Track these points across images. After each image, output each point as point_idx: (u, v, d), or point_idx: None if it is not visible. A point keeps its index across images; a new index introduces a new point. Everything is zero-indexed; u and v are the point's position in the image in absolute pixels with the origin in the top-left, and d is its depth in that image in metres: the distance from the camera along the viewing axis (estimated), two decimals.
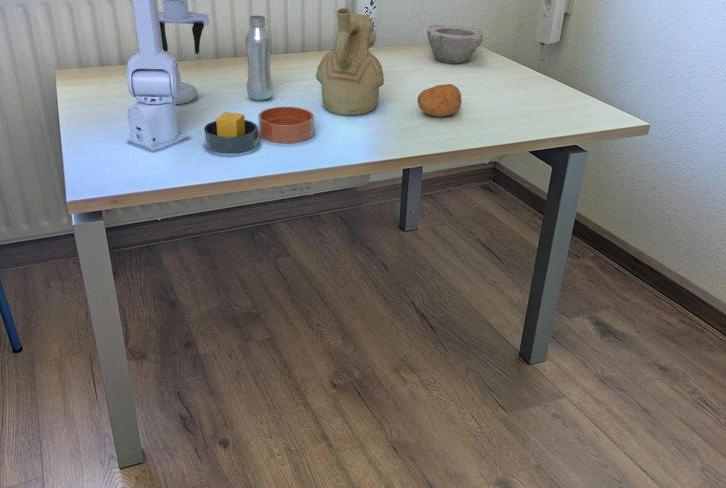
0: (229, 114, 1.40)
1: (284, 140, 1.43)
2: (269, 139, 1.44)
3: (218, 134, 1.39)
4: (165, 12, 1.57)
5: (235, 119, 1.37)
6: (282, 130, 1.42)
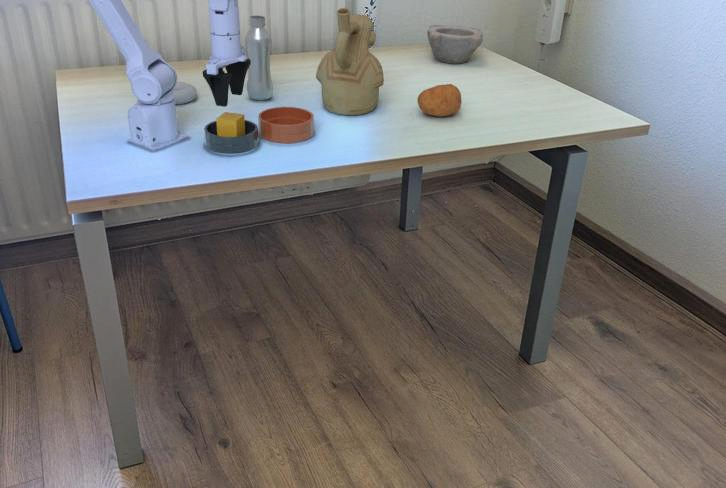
0: (229, 114, 1.40)
1: (284, 140, 1.43)
2: (269, 139, 1.44)
3: (218, 134, 1.39)
4: None
5: (235, 119, 1.37)
6: (282, 130, 1.42)
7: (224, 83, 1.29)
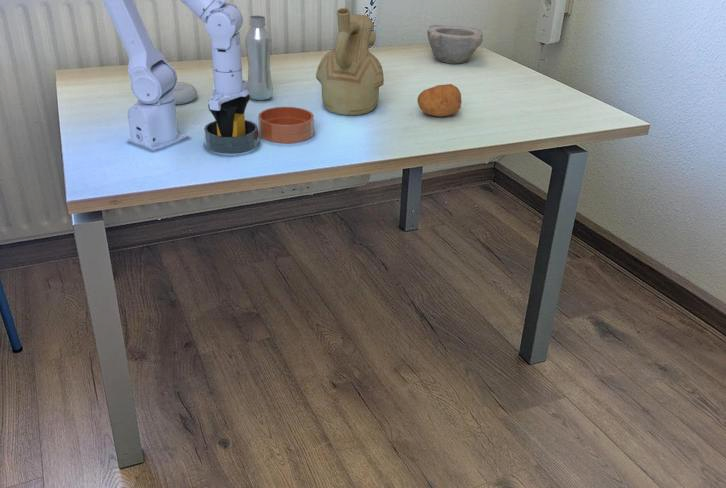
0: None
1: (284, 140, 1.43)
2: (269, 139, 1.44)
3: (218, 134, 1.39)
4: None
5: (235, 119, 1.37)
6: (282, 130, 1.42)
7: (229, 116, 1.34)
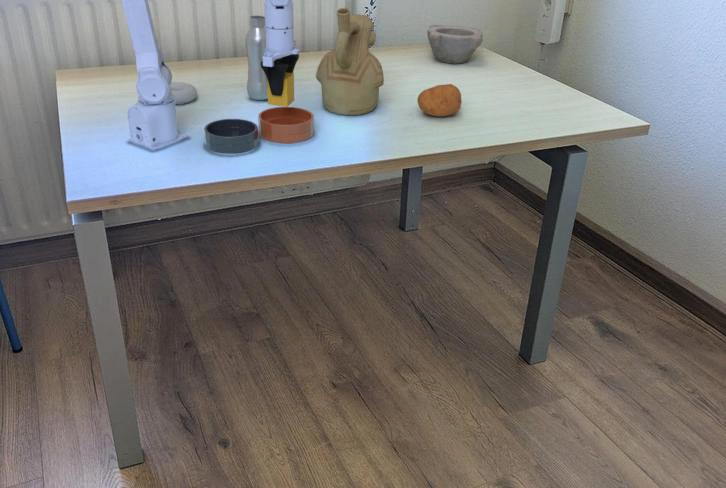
0: None
1: (284, 140, 1.43)
2: (269, 139, 1.44)
3: (268, 92, 1.41)
4: None
5: (286, 77, 1.39)
6: (282, 130, 1.42)
7: (281, 73, 1.36)
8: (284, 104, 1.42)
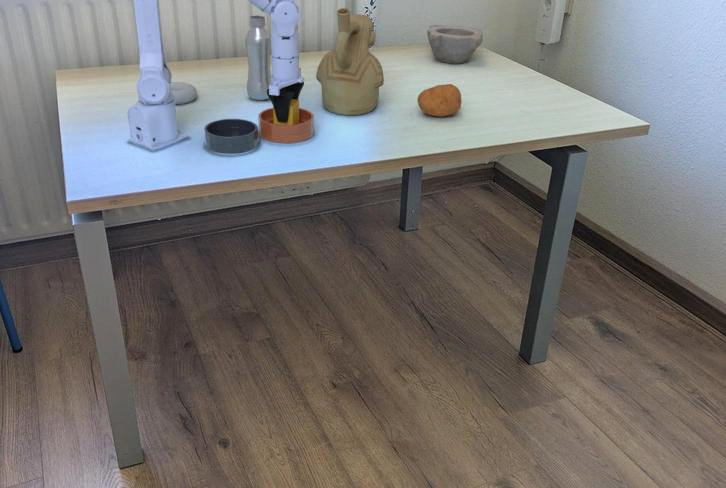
0: None
1: (284, 140, 1.43)
2: (269, 139, 1.44)
3: (274, 119, 1.45)
4: None
5: (291, 104, 1.43)
6: (282, 130, 1.42)
7: (287, 101, 1.40)
8: None
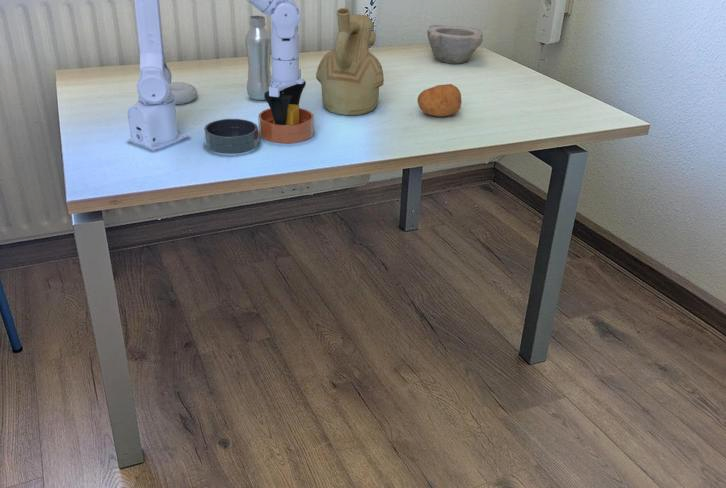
0: None
1: (284, 140, 1.43)
2: (269, 139, 1.44)
3: None
4: None
5: (291, 110, 1.44)
6: (282, 130, 1.42)
7: (284, 104, 1.39)
8: None
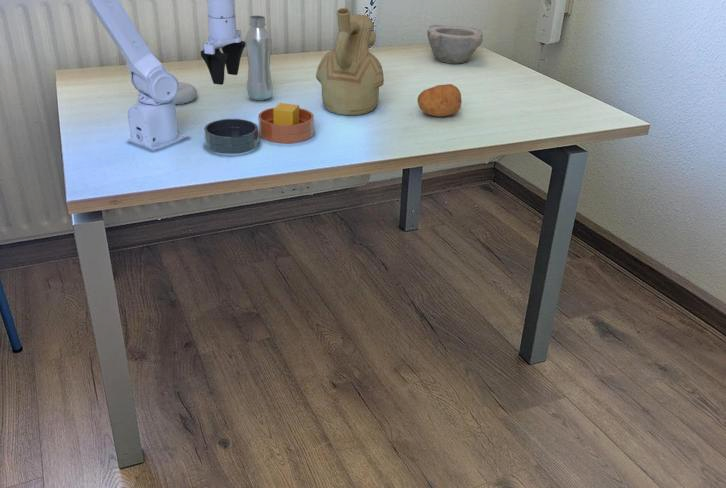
0: (285, 105, 1.46)
1: (284, 140, 1.43)
2: (269, 139, 1.44)
3: None
4: None
5: (291, 110, 1.44)
6: (282, 130, 1.42)
7: (220, 62, 1.40)
8: None
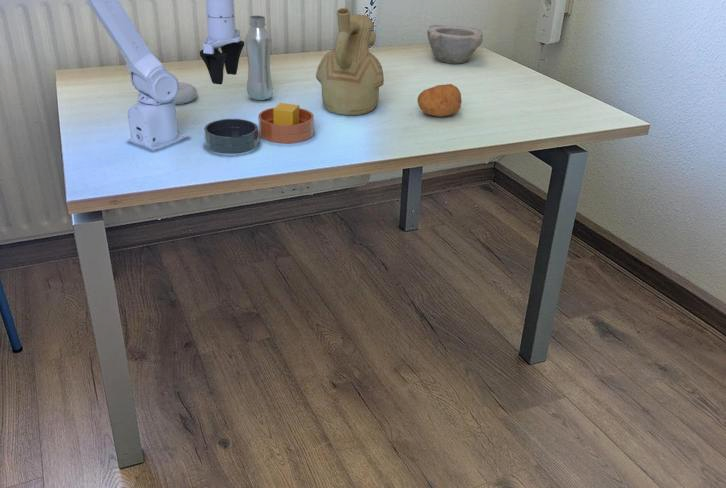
0: (285, 105, 1.46)
1: (284, 140, 1.43)
2: (269, 139, 1.44)
3: None
4: None
5: (291, 110, 1.44)
6: (282, 130, 1.42)
7: (219, 62, 1.40)
8: None
